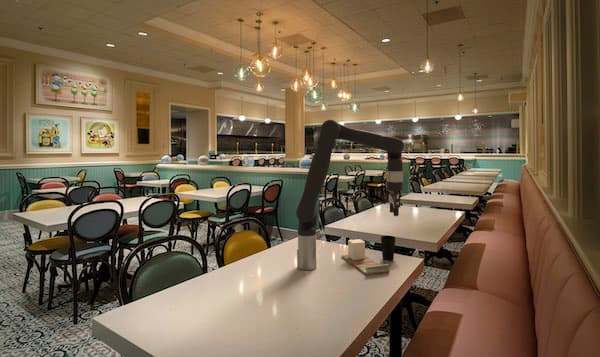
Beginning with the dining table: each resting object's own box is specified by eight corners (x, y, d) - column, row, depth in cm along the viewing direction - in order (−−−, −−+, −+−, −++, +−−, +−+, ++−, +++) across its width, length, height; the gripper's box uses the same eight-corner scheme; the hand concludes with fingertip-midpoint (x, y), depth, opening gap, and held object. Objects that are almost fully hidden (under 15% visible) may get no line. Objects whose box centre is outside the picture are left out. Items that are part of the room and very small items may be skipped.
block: (348, 256, 189) (348, 240, 188) (359, 255, 191) (359, 239, 190) (353, 260, 183) (353, 243, 182) (365, 258, 185) (365, 242, 184)
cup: (397, 261, 183) (397, 239, 182) (382, 261, 183) (382, 239, 182) (393, 256, 190) (393, 235, 189) (379, 257, 191) (379, 235, 189)
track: (341, 257, 191) (341, 250, 191) (361, 255, 194) (361, 248, 194) (366, 275, 163) (366, 267, 163) (389, 272, 167) (389, 264, 166)
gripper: (383, 179, 173) (383, 211, 174) (389, 182, 158) (389, 217, 160) (399, 179, 172) (398, 211, 174) (406, 182, 158) (405, 217, 160)
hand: (393, 214), depth 167 cm, fingers open, 8 cm apart
